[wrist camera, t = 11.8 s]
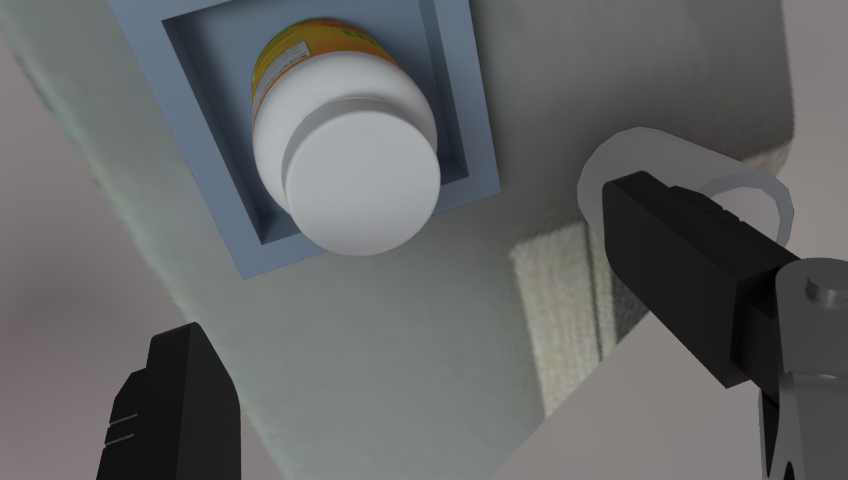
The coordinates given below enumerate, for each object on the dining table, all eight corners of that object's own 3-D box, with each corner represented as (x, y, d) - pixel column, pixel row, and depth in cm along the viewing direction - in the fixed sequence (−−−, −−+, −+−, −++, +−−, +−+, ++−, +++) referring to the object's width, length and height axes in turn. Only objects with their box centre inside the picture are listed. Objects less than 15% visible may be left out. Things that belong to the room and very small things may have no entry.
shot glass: (695, 205, 32) (797, 274, 26) (580, 260, 32) (657, 343, 26) (680, 89, 28) (796, 141, 22) (550, 152, 28) (632, 220, 22)
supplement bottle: (418, 84, 24) (508, 177, 16) (328, 178, 25) (369, 313, 17) (316, -19, 21) (363, 30, 13) (219, 92, 22) (206, 202, 14)
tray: (119, -21, 20) (102, -10, 18) (425, -106, 21) (450, -106, 19) (242, 242, 26) (243, 279, 24) (477, 165, 27) (501, 192, 25)
